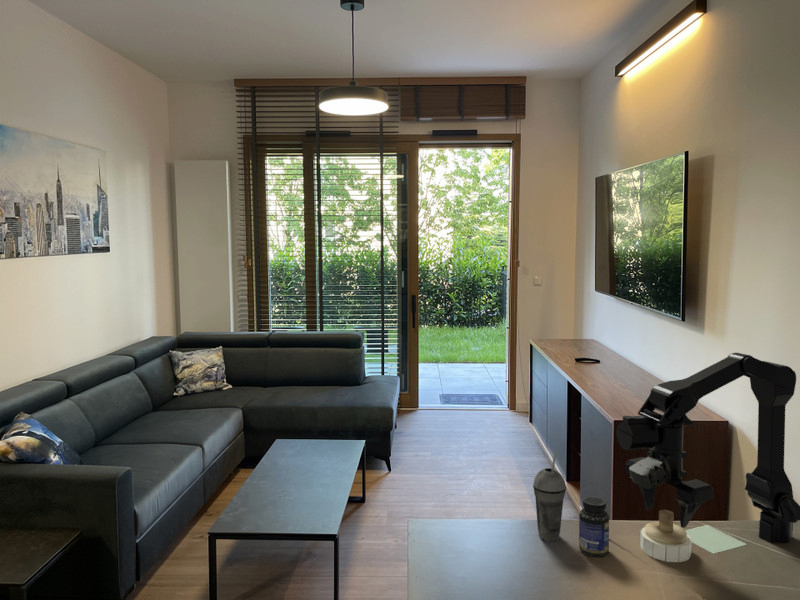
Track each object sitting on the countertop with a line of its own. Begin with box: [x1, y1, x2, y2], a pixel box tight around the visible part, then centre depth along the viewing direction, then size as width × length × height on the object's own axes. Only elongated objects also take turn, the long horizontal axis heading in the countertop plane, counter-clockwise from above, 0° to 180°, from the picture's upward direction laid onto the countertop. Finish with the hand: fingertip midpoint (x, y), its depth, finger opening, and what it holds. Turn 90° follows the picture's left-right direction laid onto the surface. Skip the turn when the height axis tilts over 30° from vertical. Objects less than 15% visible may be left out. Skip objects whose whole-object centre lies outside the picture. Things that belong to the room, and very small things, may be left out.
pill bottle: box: [578, 496, 610, 558], centre depth 127 cm, size 6×6×11 cm
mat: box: [684, 524, 748, 554], centre depth 131 cm, size 10×10×1 cm
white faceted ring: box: [639, 526, 693, 563], centre depth 126 cm, size 10×10×4 cm
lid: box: [644, 509, 687, 545], centre depth 125 cm, size 8×8×5 cm
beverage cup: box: [532, 449, 567, 542], centre depth 133 cm, size 7×7×20 cm
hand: (665, 517), depth 125 cm, fingers open, 9 cm apart
